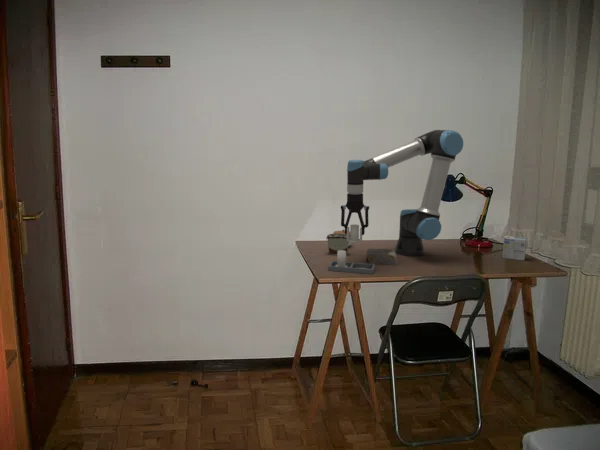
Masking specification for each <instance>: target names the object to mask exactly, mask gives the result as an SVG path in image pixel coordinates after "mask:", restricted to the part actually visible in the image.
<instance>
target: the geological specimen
mask: <svg viewBox="0 0 600 450" xmlns="http://www.w3.org/2000/svg"><path fill="white" fill-rule="evenodd" d="M365 256H366V258H367V260H368V264H375V265H395V266H396V265H398V264H399V263H398V257H397V253H396V252H395V249H393V248H391V249H390V248H367V251H366V255H365Z"/></svg>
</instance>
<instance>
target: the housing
mask: <svg viewBox="0 0 600 450" xmlns="http://www.w3.org/2000/svg"><path fill="white" fill-rule="evenodd" d="M336 256H337V257H336V258H337V259H336V260H332V261H330V263H329V264H328V266H327V267H328V268H327V271H328V272H330V271H331V272H341V273H342V272H343V273H353V274H354V273H355V274H365V275H367V274H368V275H373V274H374V272H375V270H376V264H369V263H361V262H352V261H347V255H346V251H344V250H339V251H337V255H336Z"/></svg>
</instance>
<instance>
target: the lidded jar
mask: <svg viewBox="0 0 600 450" xmlns="http://www.w3.org/2000/svg"><path fill="white" fill-rule="evenodd" d="M332 234H345V229H342V230H335V231H333V233H332ZM346 235H347V234H346ZM349 236H350V230H349ZM350 245H352V243H350V242H349V245H348V247H349V246H350Z"/></svg>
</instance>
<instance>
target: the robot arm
mask: <svg viewBox="0 0 600 450" xmlns="http://www.w3.org/2000/svg"><path fill="white" fill-rule="evenodd" d="M463 147H464V139H463V137H462V135H461V134H460V133H459V132H458V131H456V130H450V129H433V130H431V131H429V132H426V133H424V134H422V135H420V136H417V137H415V138H414V140H412V141H411V142H408V143H406V144H403V145H401V146H398V147H396V148H393V149H391V150H388V151H386V152H384V153H381V154H378V155H377V156H374V157H372V158H369V159H367V160H362V159H350V160H348V161H347V167H346V168H347V169H346V171H347V173H346V175H347V176H346V177H347V184H346V185H347V186H346V192H347V194H346V204H344V205H343V204H342V205H340V210H341V217H340V218H341V219H340V226H341V227H343V229H344V231H345V234H347V241H349V231H350V226H349V224H350V222H351V221H350V220H351V217H352V214H354V213H355V214H357V215H358V216H357V217H358V219H359V222H360V226H361V227H359V239H360V243H362V241H363V236H364V235H365V232H366V231H365V229H366V228H368V227H369V224H370V223H369V210H370V206H369V205H365V203H364V194H363V193H364V181H374V180H375V181H376V180H378V181H382V180H386V179H387V178H388V176H389V168H391V167H394V166H395V165H398V164H401V163H404V162H405V161H408V160H410V159H412V158H415V157H418V156H422V157H423V156H426V155H428V154H430V156H431V158H432V161H431V165H430V170H429V174H428V177H427V181H426V184H425V189H424V192H423V197H422V201H421V204H420V207H418V208H416V209H415V208H414V209H413V208H411V209H410V208H409V209H408V208H407V209H406V208H405V209H402V210H401V211H400V215H399V234H398V235H399V236H398V239H397V242H396V245H395V248H394V251H395V253H396V254H398V255H401V256H402V255H403V256H409V257H410V256H411V257H412V256H422V255H424V254H425V246H424V243H423V240H424V241H431V240H434V239H436V238H437V237H439V235H440V234H441V231H442V224H441V221H440V217H441V214H440V213H439V208H440V205H441V201H442V198H443V193H444V189H445V187H446V182H447V178H448V174H449V171H450V167H451V163H453V162H455V160H456V158H457V157H456V156H457V155H459V154H460V153H461V152H462V150H463ZM346 208H347V209H348V214H347V218H346V221H345V214H346ZM362 210H364V218H365V219H364V218H363V216H362ZM364 220H365V222H364Z"/></svg>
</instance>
